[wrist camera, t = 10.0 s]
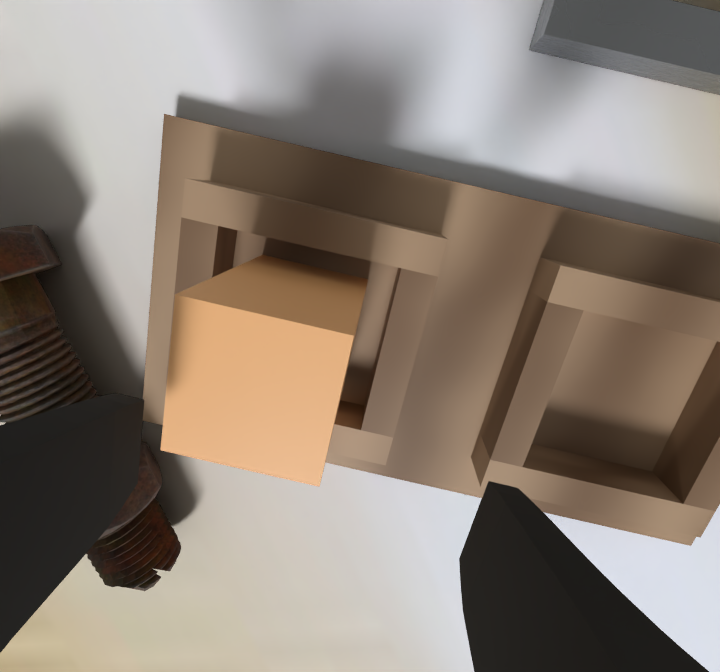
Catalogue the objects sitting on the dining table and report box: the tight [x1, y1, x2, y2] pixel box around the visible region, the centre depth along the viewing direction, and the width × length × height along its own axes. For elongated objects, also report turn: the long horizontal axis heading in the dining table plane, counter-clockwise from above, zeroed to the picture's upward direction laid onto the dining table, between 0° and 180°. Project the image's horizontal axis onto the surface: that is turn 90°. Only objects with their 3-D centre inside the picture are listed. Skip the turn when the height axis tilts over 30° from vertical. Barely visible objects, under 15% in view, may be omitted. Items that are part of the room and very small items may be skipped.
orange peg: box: [161, 255, 368, 486], centre depth 14 cm, size 4×4×7 cm
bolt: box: [0, 225, 181, 591], centre depth 18 cm, size 6×5×15 cm
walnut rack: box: [143, 114, 720, 546], centre depth 16 cm, size 24×12×3 cm, turn 77°
